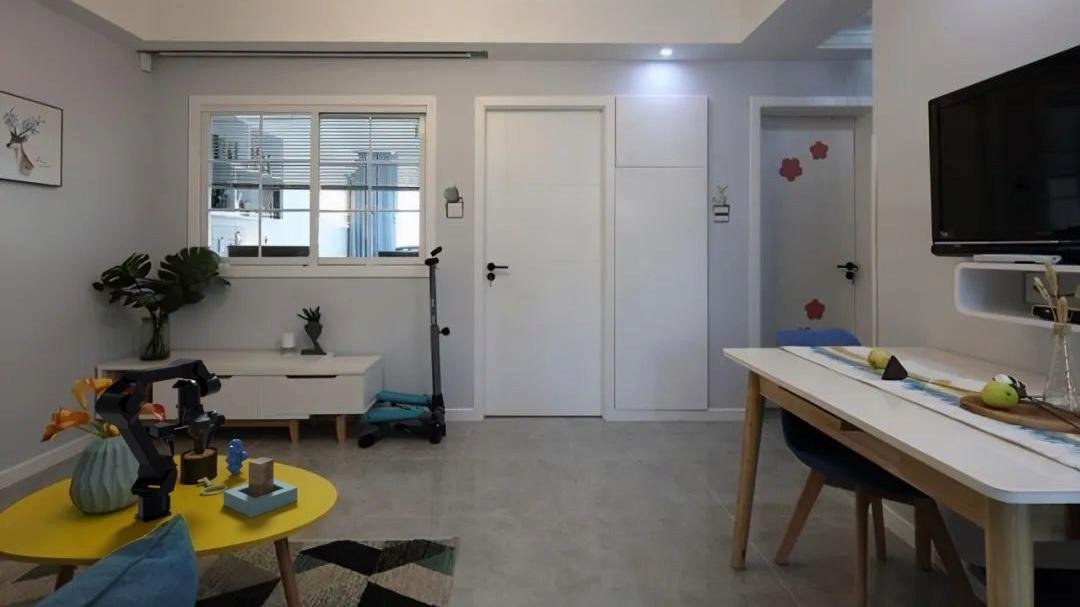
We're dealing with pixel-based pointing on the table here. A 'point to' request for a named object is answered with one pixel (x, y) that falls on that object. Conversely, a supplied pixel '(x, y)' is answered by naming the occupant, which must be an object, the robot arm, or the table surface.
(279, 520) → the table surface
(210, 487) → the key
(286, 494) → the box
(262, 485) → the walnut block
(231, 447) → the grapes
